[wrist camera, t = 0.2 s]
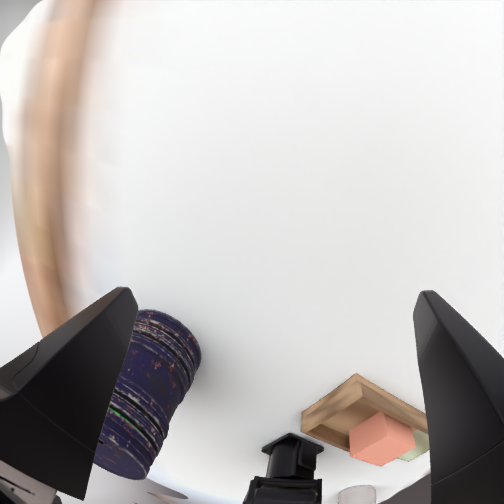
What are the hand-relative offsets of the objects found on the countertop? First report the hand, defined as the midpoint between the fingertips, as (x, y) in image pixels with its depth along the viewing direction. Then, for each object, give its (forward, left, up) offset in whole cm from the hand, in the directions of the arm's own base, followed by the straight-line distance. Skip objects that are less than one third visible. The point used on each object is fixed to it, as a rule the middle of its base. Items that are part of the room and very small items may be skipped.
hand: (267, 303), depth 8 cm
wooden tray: (-14, -28, -15) cm, 35 cm away
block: (-14, -26, -14) cm, 33 cm away
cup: (-34, -44, -16) cm, 58 cm away
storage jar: (-21, +2, -16) cm, 26 cm away
